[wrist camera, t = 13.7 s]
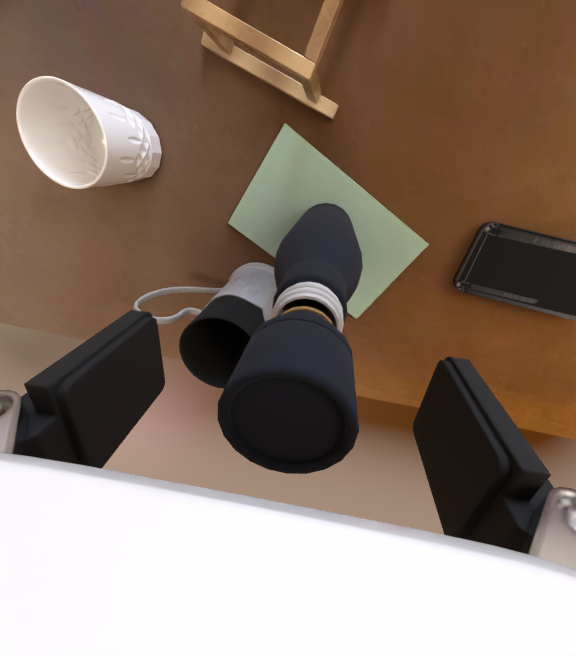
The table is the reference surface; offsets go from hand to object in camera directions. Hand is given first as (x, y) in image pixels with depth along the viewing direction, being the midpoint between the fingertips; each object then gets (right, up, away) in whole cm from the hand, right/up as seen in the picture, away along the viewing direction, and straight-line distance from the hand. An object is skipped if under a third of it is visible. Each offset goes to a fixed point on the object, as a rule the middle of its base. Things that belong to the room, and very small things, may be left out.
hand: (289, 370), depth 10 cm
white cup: (-17, +22, +24) cm, 37 cm away
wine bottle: (+4, +13, +24) cm, 28 cm away
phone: (+27, +8, +23) cm, 37 cm away
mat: (+4, +13, +25) cm, 28 cm away
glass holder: (-6, +7, +30) cm, 31 cm away
